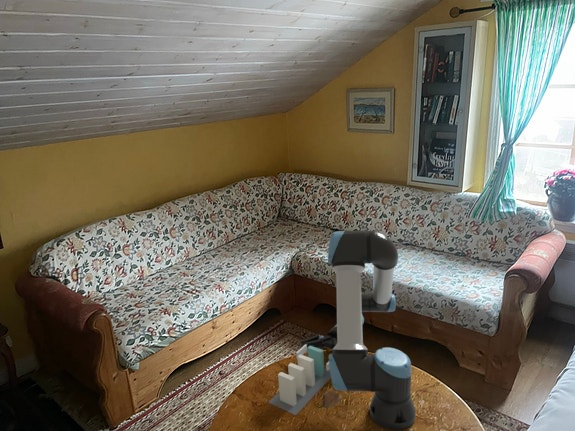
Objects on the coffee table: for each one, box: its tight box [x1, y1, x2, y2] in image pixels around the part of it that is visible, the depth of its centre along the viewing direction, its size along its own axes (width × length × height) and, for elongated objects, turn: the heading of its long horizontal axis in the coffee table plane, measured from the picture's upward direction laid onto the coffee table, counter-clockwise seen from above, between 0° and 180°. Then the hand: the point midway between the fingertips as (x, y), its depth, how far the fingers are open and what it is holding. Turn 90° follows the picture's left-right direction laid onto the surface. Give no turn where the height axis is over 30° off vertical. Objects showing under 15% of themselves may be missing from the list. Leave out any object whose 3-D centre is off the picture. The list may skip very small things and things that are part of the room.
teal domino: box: [307, 346, 325, 377], centre depth 177 cm, size 6×2×11 cm, turn 54°
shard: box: [321, 388, 343, 409], centre depth 164 cm, size 11×8×2 cm
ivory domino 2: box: [287, 362, 306, 396], centre depth 167 cm, size 6×2×11 cm, turn 54°
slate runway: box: [268, 365, 331, 416], centre depth 172 cm, size 12×28×1 cm, turn 144°
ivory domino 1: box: [277, 371, 297, 406], centre depth 163 cm, size 6×2×11 cm, turn 54°
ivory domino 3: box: [297, 354, 315, 387], centre depth 172 cm, size 6×2×11 cm, turn 54°
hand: (311, 361), depth 174 cm, fingers open, 13 cm apart
